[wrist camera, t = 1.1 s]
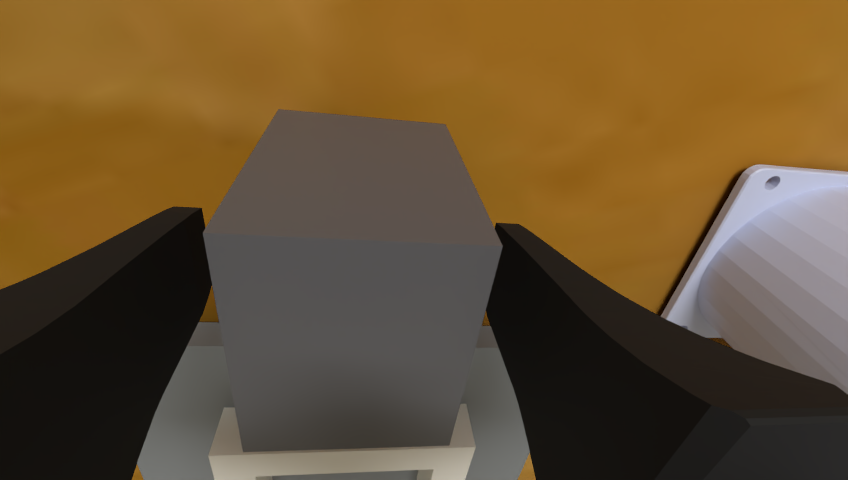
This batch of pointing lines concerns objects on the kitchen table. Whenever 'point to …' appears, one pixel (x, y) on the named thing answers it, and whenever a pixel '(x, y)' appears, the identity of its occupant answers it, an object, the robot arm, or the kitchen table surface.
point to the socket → (335, 468)
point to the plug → (350, 283)
